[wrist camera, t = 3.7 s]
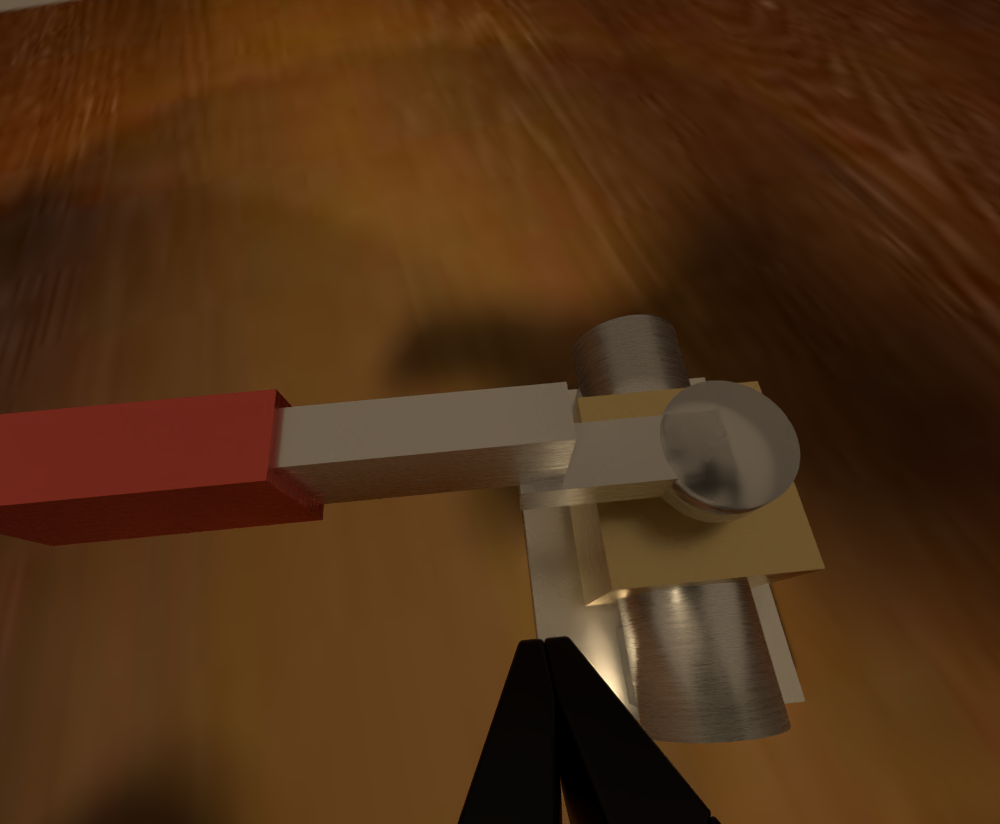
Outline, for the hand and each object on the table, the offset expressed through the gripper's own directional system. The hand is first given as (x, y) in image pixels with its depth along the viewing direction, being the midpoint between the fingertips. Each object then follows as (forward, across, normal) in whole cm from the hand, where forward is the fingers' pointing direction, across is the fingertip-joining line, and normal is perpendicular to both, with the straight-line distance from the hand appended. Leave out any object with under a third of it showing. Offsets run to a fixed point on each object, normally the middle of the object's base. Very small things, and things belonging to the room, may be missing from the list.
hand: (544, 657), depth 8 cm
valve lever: (+5, +2, -1) cm, 5 cm away
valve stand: (+11, -5, +6) cm, 14 cm away
